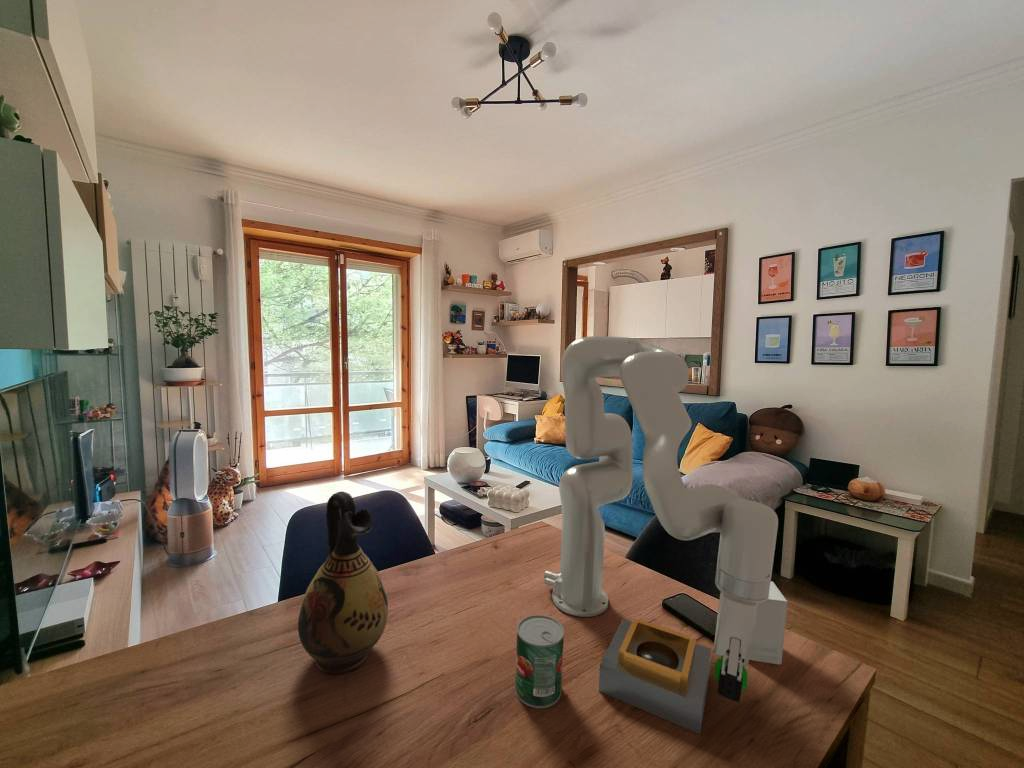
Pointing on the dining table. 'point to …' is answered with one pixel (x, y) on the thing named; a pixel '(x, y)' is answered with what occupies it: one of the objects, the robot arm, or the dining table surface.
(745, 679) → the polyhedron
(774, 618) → the supplement box
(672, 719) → the grey yellow socket base
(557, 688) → the canned tomato
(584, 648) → the dining table surface
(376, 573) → the ceramic jug
